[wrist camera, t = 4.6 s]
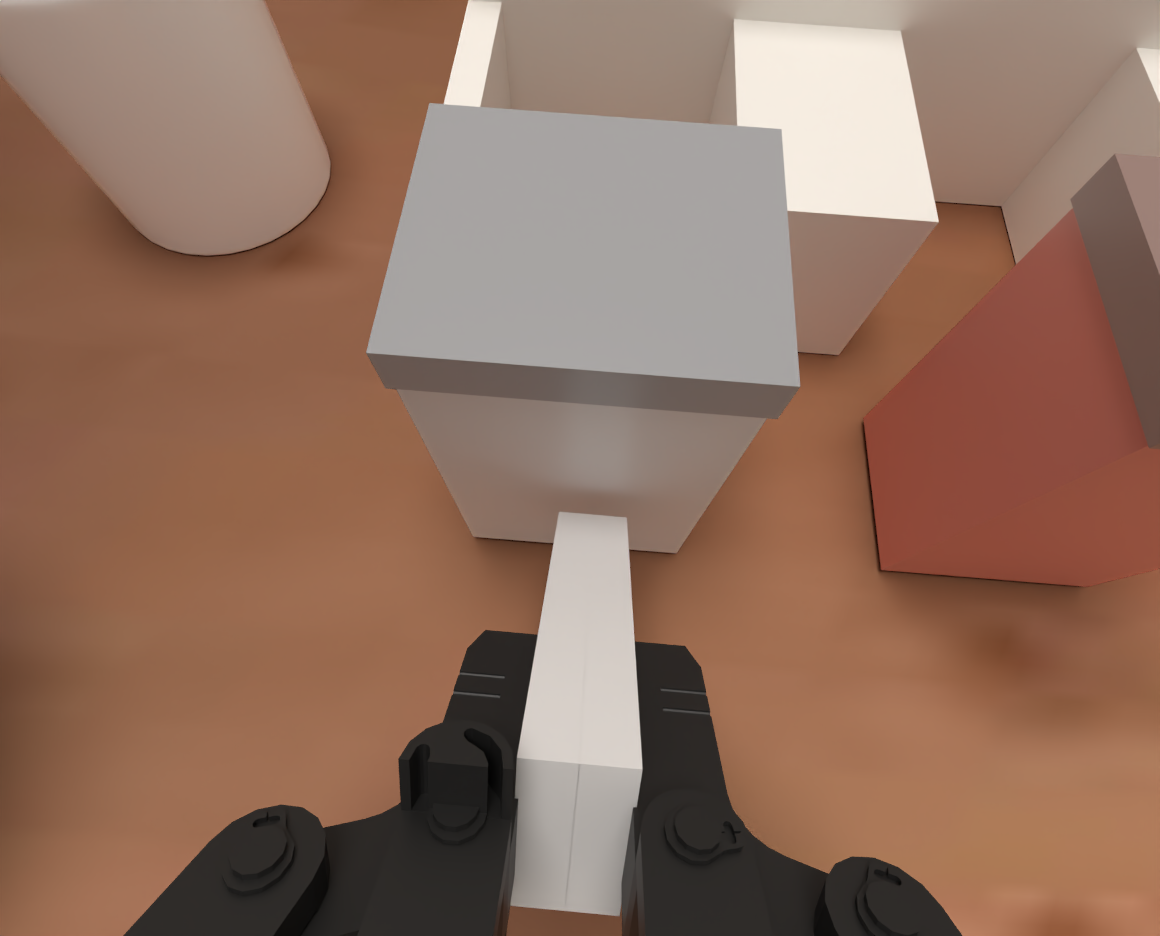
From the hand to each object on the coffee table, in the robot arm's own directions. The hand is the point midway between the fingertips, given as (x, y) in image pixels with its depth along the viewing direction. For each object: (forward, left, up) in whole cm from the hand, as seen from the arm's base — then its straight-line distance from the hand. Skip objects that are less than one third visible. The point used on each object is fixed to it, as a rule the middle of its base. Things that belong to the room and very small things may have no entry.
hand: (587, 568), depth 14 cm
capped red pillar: (+12, +4, -4) cm, 13 cm away
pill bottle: (-15, +15, -4) cm, 22 cm away
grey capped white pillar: (0, +4, -4) cm, 6 cm away
